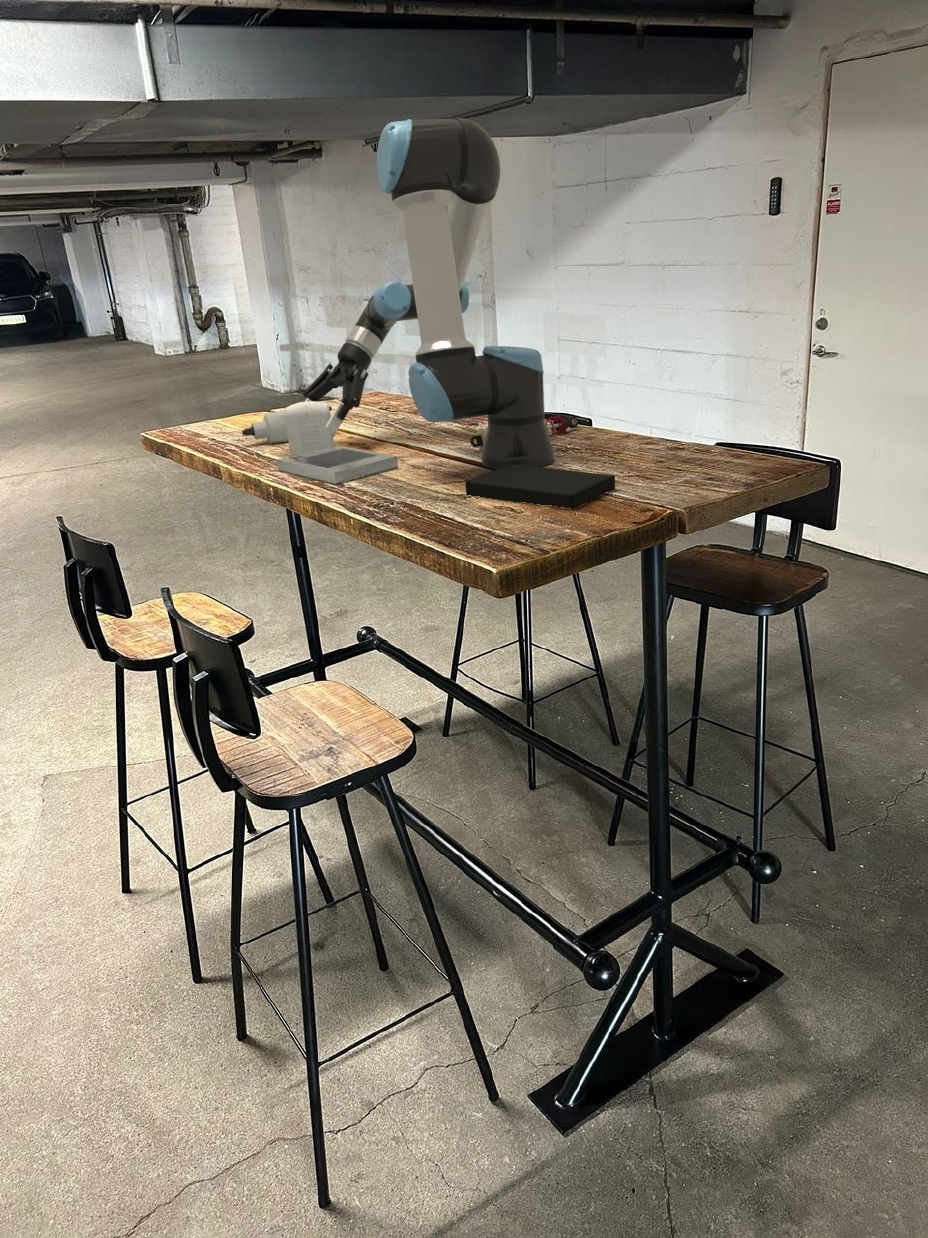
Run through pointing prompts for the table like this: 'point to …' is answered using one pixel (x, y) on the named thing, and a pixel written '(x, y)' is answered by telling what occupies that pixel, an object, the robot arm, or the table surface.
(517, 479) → the external hard drive
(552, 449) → the robot arm
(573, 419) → the shock absorber
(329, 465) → the plate
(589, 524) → the table surface
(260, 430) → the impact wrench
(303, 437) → the photo printer
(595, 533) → the table surface
